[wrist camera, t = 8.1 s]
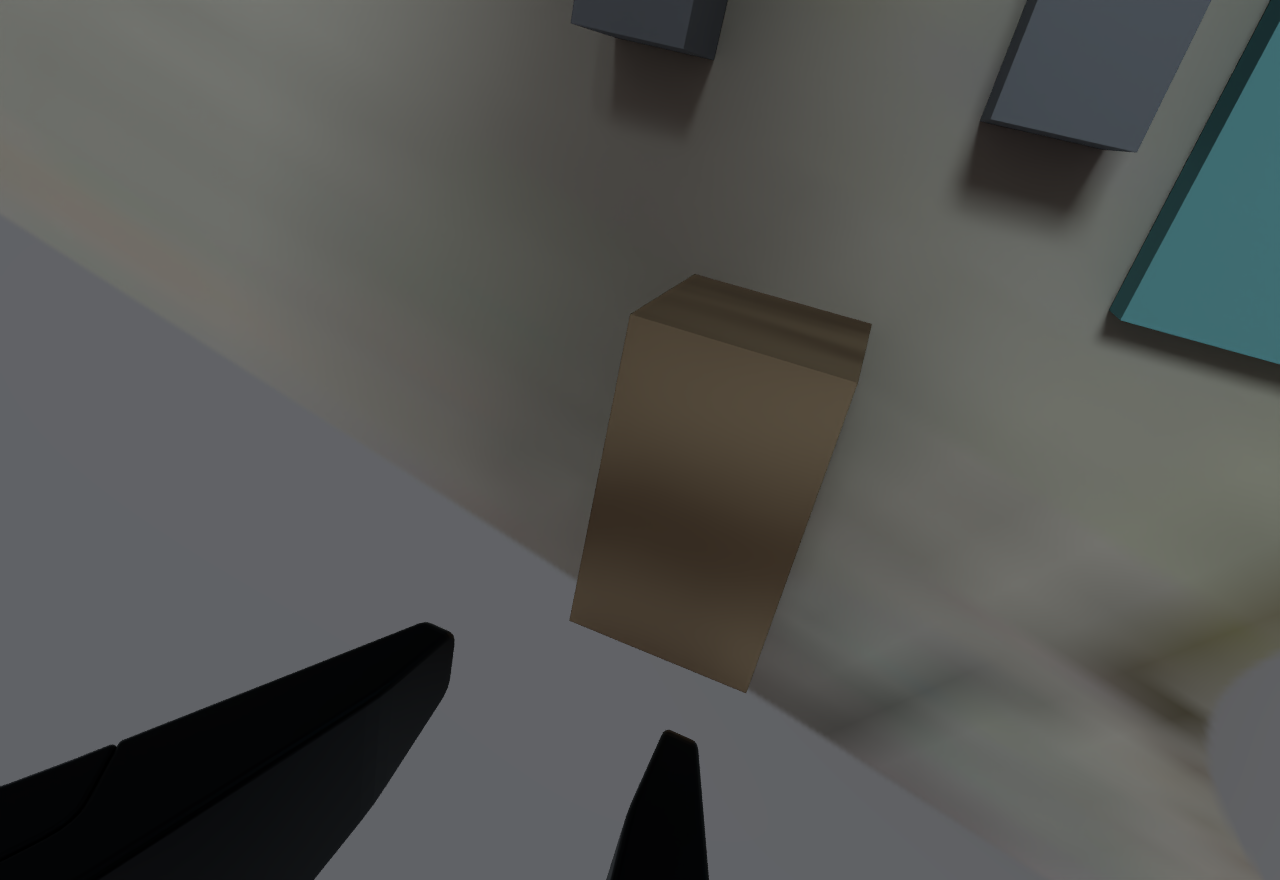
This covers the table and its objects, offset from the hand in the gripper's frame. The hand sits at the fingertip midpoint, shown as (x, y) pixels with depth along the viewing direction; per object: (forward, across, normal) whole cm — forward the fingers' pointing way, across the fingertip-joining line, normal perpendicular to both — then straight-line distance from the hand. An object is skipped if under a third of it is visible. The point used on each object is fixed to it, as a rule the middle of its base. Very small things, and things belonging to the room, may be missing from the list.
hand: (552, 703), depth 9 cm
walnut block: (+12, 0, +1) cm, 12 cm away
